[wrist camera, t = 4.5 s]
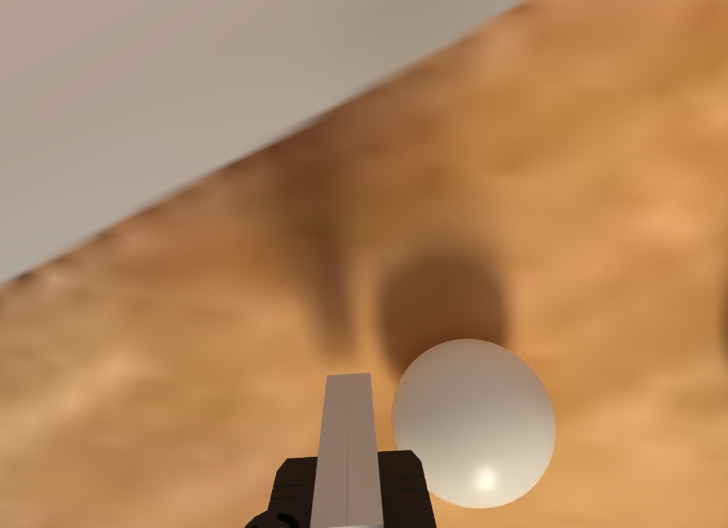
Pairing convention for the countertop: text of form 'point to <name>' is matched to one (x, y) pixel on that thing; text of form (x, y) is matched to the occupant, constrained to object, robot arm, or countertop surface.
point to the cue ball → (475, 422)
